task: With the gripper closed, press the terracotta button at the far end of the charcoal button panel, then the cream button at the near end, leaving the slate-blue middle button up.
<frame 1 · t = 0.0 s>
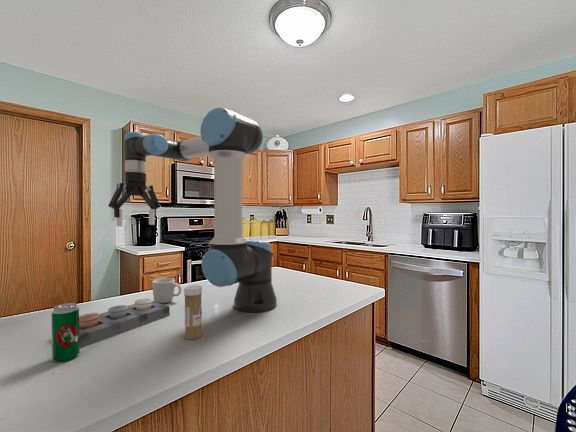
hand: (136, 225, 117), 28 cm above the countertop, tool pointing down, fingers open, 13 cm apart
cup: (167, 302, 109), on the countertop
soda can: (66, 358, 67), on the countertop
cream button: (143, 305, 93), point 4 cm above the countertop, slide at 0.0 cm
terracotta button: (88, 321, 79), point 4 cm above the countertop, slide at 0.0 cm
slate button: (118, 312, 86), point 4 cm above the countertop, slide at 0.0 cm
button panel: (118, 325, 86), on the countertop
sprinkles bottle: (193, 336, 79), on the countertop
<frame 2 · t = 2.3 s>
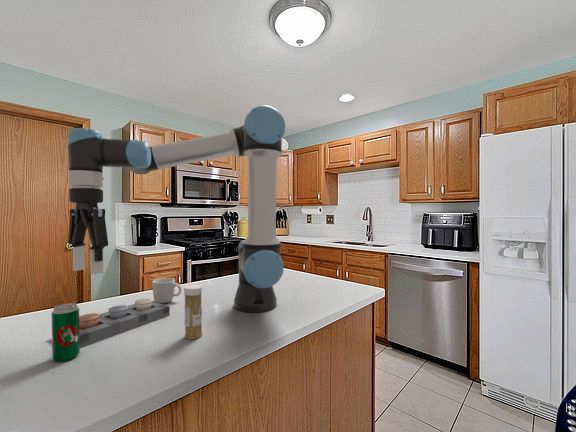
hand: (87, 271, 79), 17 cm above the countertop, tool pointing down, fingers open, 9 cm apart
nothing on the countertop moved.
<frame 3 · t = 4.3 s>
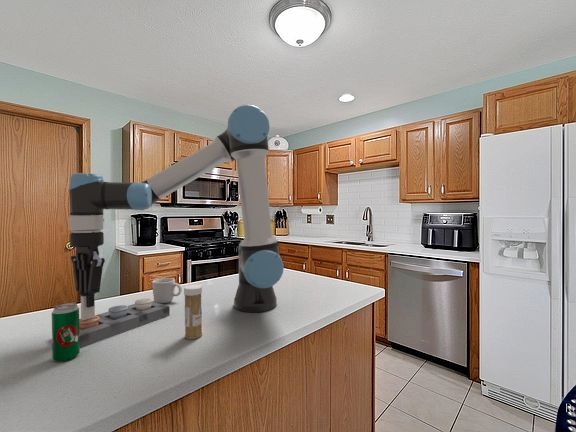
hand: (87, 318, 79), 5 cm above the countertop, tool pointing down, fingers closed
terracotta button: (88, 324, 79), point 3 cm above the countertop, slide at 0.7 cm, touching gripper
everything else where it was.
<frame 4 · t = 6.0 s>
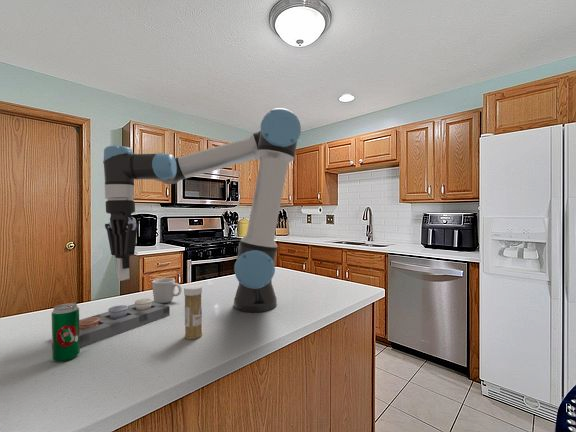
hand: (123, 279, 87), 14 cm above the countertop, tool pointing down, fingers closed
terracotta button: (88, 325, 79), point 3 cm above the countertop, slide at 1.1 cm
everything else where it was.
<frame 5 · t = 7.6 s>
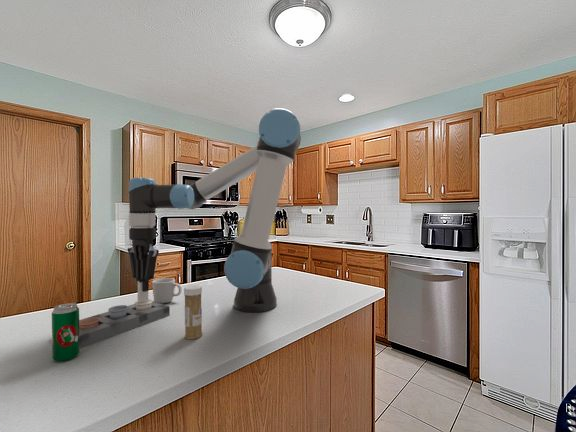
hand: (143, 300, 93), 5 cm above the countertop, tool pointing down, fingers closed
cream button: (143, 306, 93), point 3 cm above the countertop, slide at 0.4 cm, touching gripper
everything else where it was.
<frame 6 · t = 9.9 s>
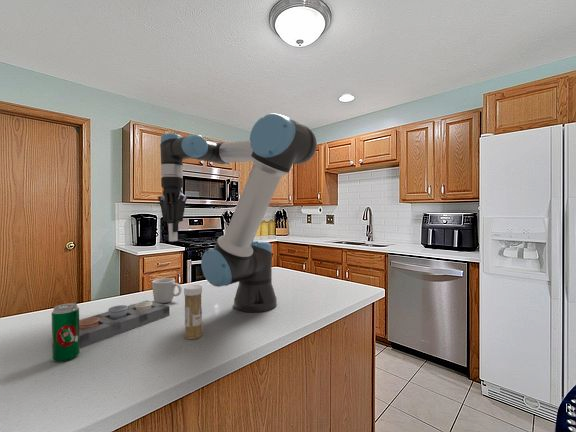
hand: (173, 240, 108), 23 cm above the countertop, tool pointing down, fingers closed
cream button: (143, 308, 93), point 3 cm above the countertop, slide at 1.1 cm
everything else where it was.
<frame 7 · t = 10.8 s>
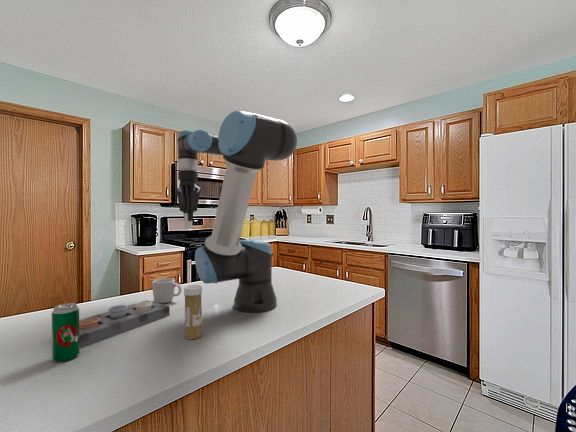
hand: (188, 229, 118), 26 cm above the countertop, tool pointing down, fingers closed
nothing on the countertop moved.
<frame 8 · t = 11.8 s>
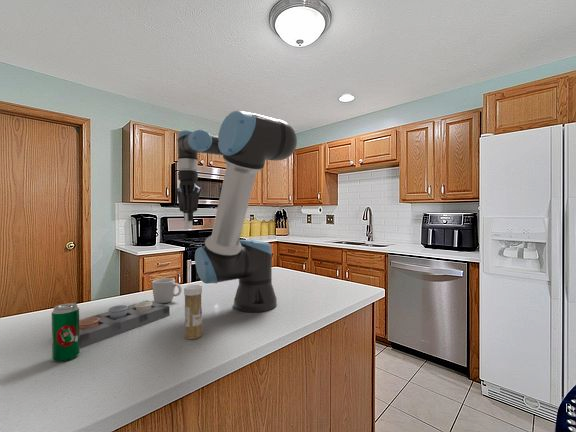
hand: (188, 229, 118), 26 cm above the countertop, tool pointing down, fingers closed
nothing on the countertop moved.
at the end: terracotta button slide at 1.1 cm; cream button slide at 1.1 cm; slate button slide at 0.0 cm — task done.
